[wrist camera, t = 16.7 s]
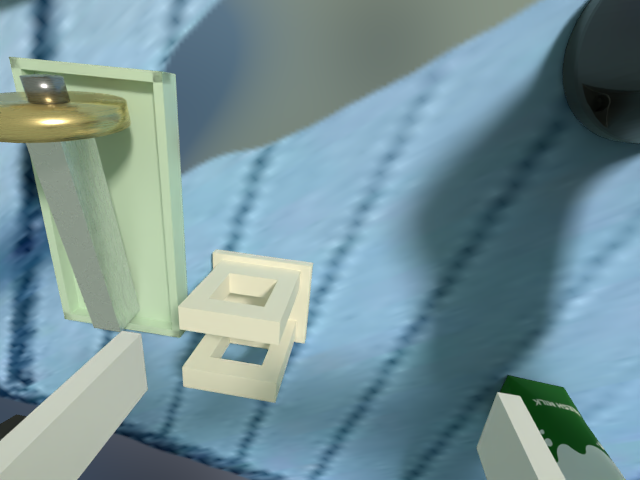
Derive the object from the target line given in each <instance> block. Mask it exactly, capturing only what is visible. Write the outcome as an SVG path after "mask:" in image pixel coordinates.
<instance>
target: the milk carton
mask: <svg viewBox="0 0 640 480" xmlns="http://www.w3.org/2000/svg"><path fill="white" fill-rule="evenodd" d="M500 393H505V394H511V395H517V396H520V397H521V399H522V400H523V402H524V404H525V406H526V408H527V410H528V411H529V413H530V415H531V417H532V419H533V421H534V422H535V424H536V426H537V428H538V430H539V432H540V433H541V435H542V437H543V439H544V441H545V443H546V444H547V446H548V448H549V450H550V452H551V454H552V455H553V457H554V459H555V461H556V463H557V465H558V466H559V468H560V470H561V472H562V474H563V475H564V477H565V479H566V480H626V479H625V478H624V476H623V475H622V474H621V472H620V471H619V469H618V468H617V467H616V465H615V464H614V462H613V461H612V460H611V458H610V457H609V455H608V454H607V453H606V451H605V450H604V448H603V447H602V445H601V444H600V443H599V441H598V440H597V438H596V437H595V436H594V434H593V433H592V431H591V430H590V429H589V427H588V426H587V424H586V423H585V421H584V420H583V418H582V416H581V415H580V413H579V411H578V410H577V408H576V406H575V405H574V403H573V402H572V400H571V398H570V397H569V395H568V393H567V392H566V390H565V389H564V387H559V386H555V385H550V384H545V383H541V382H536V381H532V380H527V379H523V378H518V377H513V376H509V375H508V376H507V378H506V380H505V382H504V384H503V386H502V389H501V391H500Z"/></svg>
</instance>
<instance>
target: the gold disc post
mask: <svg viewBox="0 0 640 480" xmlns="http://www.w3.org/2000/svg"><path fill="white" fill-rule="evenodd" d="M19 77H20V80H21V83H22V85H23V88H24V91H25V92H10V93H0V142H11V143H26V145H27V148H28V151H29V153H30V156H31V159H32V161H33V164H34V167H35V169H36V172H37V175H38V178H39V180H40V183H41V186H42V188H43V191H44V194H45V197H46V199H47V202H48V205H49V207H50V210H51V213H52V215H53V218H54V221H55V224H56V226H57V229H58V232H59V234H60V237H61V240H62V242H63V245H64V248H65V251H66V253H67V256H68V259H69V261H70V264H71V267H72V269H73V272H74V275H75V278H76V280H77V283H78V286H79V288H80V291H81V294H82V296H83V299H84V302H85V305H86V307H87V310H88V313H89V315H90V318H91V321H92V324H93V326H94V328H99V329H105V330H111V331H117V332H121V331H122V330H123V329H124V328H125V327H126V326H127V324H128V323H129V322H130V321H131V320H132V319H133V318H134V316H135V315H136V314H137V313H138V312H139V311H140V307H139V304H138V300H137V296H136V292H135V288H134V285H133V281H132V277H131V273H130V270H129V266H128V262H127V258H126V254H125V251H124V247H123V243H122V239H121V235H120V232H119V228H118V224H117V220H116V217H115V213H114V209H113V205H112V201H111V198H110V194H109V190H108V186H107V182H106V179H105V175H104V171H103V167H102V163H101V160H100V156H99V152H98V148H97V145H96V141H95V138H96V137H101V136H106V135H110V134H114V133H117V132H120V131H122V130H124V129H126V128H128V127H129V126H130V125H131V121H130V116H129V111H128V106H127V101H126V100H125V99H124V98H122V97H119V96H115V95H110V94H103V93H94V92H80V91H67V88H66V85H65V81H64V78H63V76H60V75H48V74H31V75H21V76H19Z"/></svg>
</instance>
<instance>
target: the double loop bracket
mask: <svg viewBox="0 0 640 480" xmlns="http://www.w3.org/2000/svg"><path fill="white" fill-rule="evenodd" d="M312 269H313V263H310V262H303V261H296V260H289V259H281V258H274V257H267V256H260V255H253V254H246V253H239V252H231V251H224V250H217V249H216V250H215V251H214V252H213V270H212V272H211V273H210V274H209V275H208V276H207V277H206V278H205V279H204V280H203V281H202V282H201V283H200V284H199V285H198V286H197V287H196V288H195V289H194V290H193V291H192V292H191V293H190V295H189V296H188V297H187V298H186V299H185V300H184V301H183V302H182V303H181V304H180V305H179V306H178V313H179V328H180V329H181V330H187V331H193V332H200V333H206V335H205V336H204V337H203V339H202V340H201V342H200V343H199V344H198V346H197V347H196V349H195V350H194V351H193V353H192V354H191V356H190V357H189V358H188V360H187V361H186V363H185V364H184V365H183V367H182V372H183V387H188V388H194V389H200V390H205V391H211V392H217V393H222V394H228V395H234V396H240V397H245V398H251V399H257V400H262V401H268V402H274V403H275V402H276V398H277V395H278V392H279V389H280V385H281V382H282V379H283V376H284V372H285V369H286V366H287V363H288V359H289V356H290V353H291V350H292V346H293V343H294V342H298V343H305V340H306V331H307V321H308V310H309V300H310V290H311V279H312ZM230 343H234V344H240V345H246V346H253V347H259V348H265V349H268V352H267V354H266V357H265V359H264V362H263V364H262V365H257V364H251V363H245V362H239V361H233V360H226V359H221V357H222V356H223V354H224V352H225V350H226V349H227V347H228V345H229V344H230Z"/></svg>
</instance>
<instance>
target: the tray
mask: <svg viewBox="0 0 640 480" xmlns="http://www.w3.org/2000/svg"><path fill="white" fill-rule="evenodd" d="M9 59H10V64H11V68H12V73H13V78H14V83H15V87H16V92H25V91H24V88H23V85H22V83H21V80H20V77H19V76H21V75H31V74H48V75H60V76H63V78H64V81H65V85H66V88H67V91H80V92H94V93H103V94H110V95H115V96H119V97H122V98H124V99H125V100H126V101H127V106H128V111H129V116H130V121H131V125H130V126H129V127H128V128H126V129H124V130H122V131H120V132H117V133H114V134H110V135H106V136H101V137H96V138H95V141H96V145H97V148H98V152H99V156H100V160H101V163H102V167H103V171H104V175H105V179H106V182H107V186H108V190H109V194H110V198H111V201H112V205H113V209H114V213H115V217H116V220H117V224H118V228H119V232H120V235H121V239H122V243H123V247H124V251H125V254H126V258H127V262H128V266H129V270H130V273H131V277H132V281H133V285H134V288H135V292H136V296H137V300H138V304H139V307H140V311H139V312H138V313H137V314H136V315H135V316H134V318H133V319H132V320H131V321H130V322H129V323H128V324H127V326H126V327H125V328H124V329H129V330H136V331H142V332H148V333H154V334H160V335H166V336H172V337H179V338H180V337H181V336H182V335H183V333H184V332H185V331H186V330H181V329H180V328H179V313H178V306H179V305H180V304H181V303H182V302H183V301H184V300H185V299H186V298H187V297H188V294H187V276H186V258H185V240H184V221H183V203H182V185H181V168H180V150H179V131H178V112H177V94H176V76H175V74H171V73H166V72H160V71H150V70H139V69H129V68H119V67H109V66H98V65H88V64H78V63H68V62H57V61H47V60H37V59H27V58H16V57H9ZM30 157H31V156H30ZM31 162H32V167H33V172H34V176H35V181H36V186H37V190H38V195H39V200H40V204H41V209H42V214H43V218H44V223H45V228H46V232H47V237H48V242H49V247H50V251H51V256H52V261H53V265H54V270H55V275H56V279H57V284H58V289H59V293H60V298H61V303H62V307H63V312H64V317H65V319H68V320H74V321H80V322H87V323H92V321H91V318H90V315H89V313H88V310H87V307H86V305H85V302H84V299H83V296H82V294H81V291H80V288H79V286H78V283H77V280H76V278H75V275H74V272H73V269H72V267H71V264H70V261H69V259H68V256H67V253H66V251H65V248H64V245H63V242H62V240H61V237H60V234H59V232H58V229H57V226H56V224H55V221H54V218H53V215H52V213H51V210H50V207H49V205H48V202H47V199H46V197H45V194H44V191H43V188H42V186H41V183H40V180H39V178H38V175H37V172H36V169H35V167H34V164H33V161H32V159H31Z"/></svg>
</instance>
